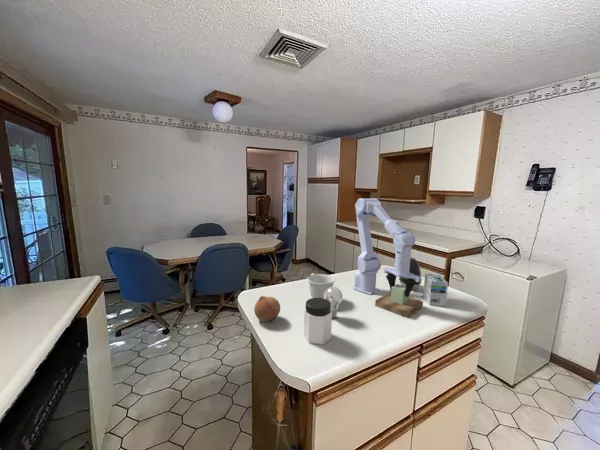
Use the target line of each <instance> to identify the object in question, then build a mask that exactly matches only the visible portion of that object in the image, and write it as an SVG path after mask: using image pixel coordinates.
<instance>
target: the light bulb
mask: <svg viewBox="0 0 600 450" xmlns="http://www.w3.org/2000/svg"><path fill="white" fill-rule="evenodd" d="M342 293H343V292H342V291H341V290H340V288H338V287H337V286H333V287H329V288H327V289H326V291H325V293H324V299H326V300H328V301H329V302H330V303H331V312H332V319H333V318H335V317H336V316H337V314H338V309H339V306H340V304H341V303H342V301H343V294H342Z"/></svg>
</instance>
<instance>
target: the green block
mask: <svg viewBox="0 0 600 450" xmlns="http://www.w3.org/2000/svg"><path fill="white" fill-rule="evenodd" d="M390 292H391V300H390V301H393V302H396V303H399V304H404V303H405V302H407V301H408V297H409V296H408V297H406V286H402V285H401V284H400V283H395V285H394V286H392V287H391V290H390Z"/></svg>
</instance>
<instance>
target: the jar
mask: <svg viewBox="0 0 600 450" xmlns="http://www.w3.org/2000/svg"><path fill="white" fill-rule="evenodd" d="M303 312H304V313H303V314H304V316H303V319H304V320H303V321H304V322H303V336H304V338H305V339H306V341H307V342H308V344H316V345H325V343H327V342H328V341H329V340H331V339H332V323H333V322H332V319H333V318H332V312H331V303H330V302H329V301H328V300H326V299H323V298H313V297H311V298H308V299H307V300H306V301H305V308H304V311H303Z"/></svg>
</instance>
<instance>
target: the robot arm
mask: <svg viewBox="0 0 600 450" xmlns="http://www.w3.org/2000/svg"><path fill="white" fill-rule="evenodd" d="M354 207H355V214H356V224H357V229H358V236H359V243H360V244H359V245H360V249H361V250H360V251H361V253H360V254H359V255H358V257H357V269H358V270H357V271H356V272H355V275H354V286H353V290H357V291H359V292H362V293H364V294H367V295H373V294H374V293H377V292H378V291H380V289H379V288H376V286H377V273H379V271H380V269H381V265H382V264H381V261H380V259H379V255H378V254H377V253H376V252H375V251H374V248H373V247H374V246H373V241H372V234H371V228H370V221H369V220H370V218H371V217H372V216H373V215H375V216H376V217H377V218H378V219H379V220H380V221H381V222H382V223H383V225H384V230H386V232H387V233H388V234H389V235H390V236H391V238H392V240H393V241H392V242H393V245H394V250H395V258H394V268H390V267H389V268H388V267H385V268H383V274H386V275H385V277H386V280H387V282H388V285H389V290H390V291H391V287H392V286H394V285H396V280H397V277H398V278H399V277H403V278H406V279H408V280H406V297H410V294H411V291H412V290H411V289H412V287H413V286H414V284H415V283H416V282H419V281H420V276H417V275H414V274H412V273H409V268H410V258H412V257H411V255H412V254H411V253H412V246H414V245H415V243H416V237H415V235H414V234H413V232H410V231H409V232H408V231H407V230H406V229H405V228H404V227H403V226H402V225H401V224H400V221H399V220H397V219H392V218H391V217H390V216H389V214H388V212H386V211H385V209H384V208H383V206H382V202H381V201H379V199H378V198H375V197H373V198H362V197H361V198H358V199H357V201H356V203H355V204H354Z"/></svg>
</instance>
